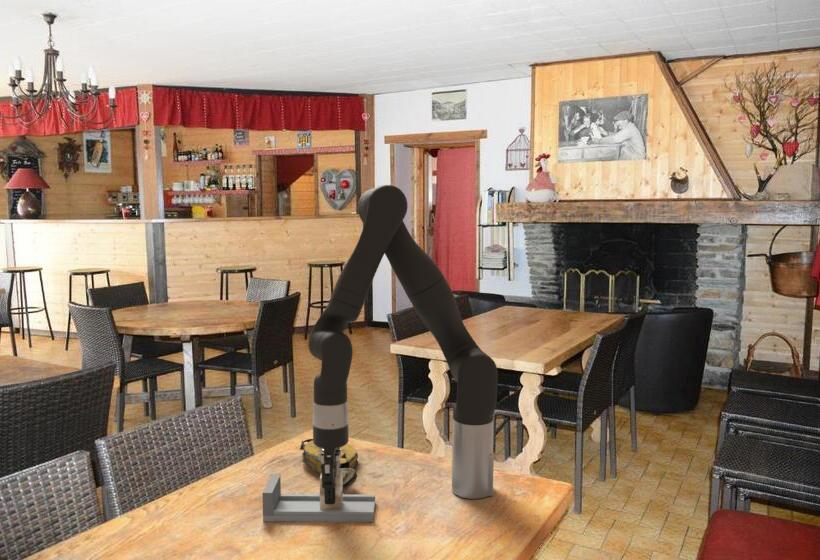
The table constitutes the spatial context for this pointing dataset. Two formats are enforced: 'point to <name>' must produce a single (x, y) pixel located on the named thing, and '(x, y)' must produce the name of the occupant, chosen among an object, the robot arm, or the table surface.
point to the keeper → (337, 493)
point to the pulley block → (347, 460)
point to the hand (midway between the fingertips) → (331, 497)
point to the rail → (313, 506)
